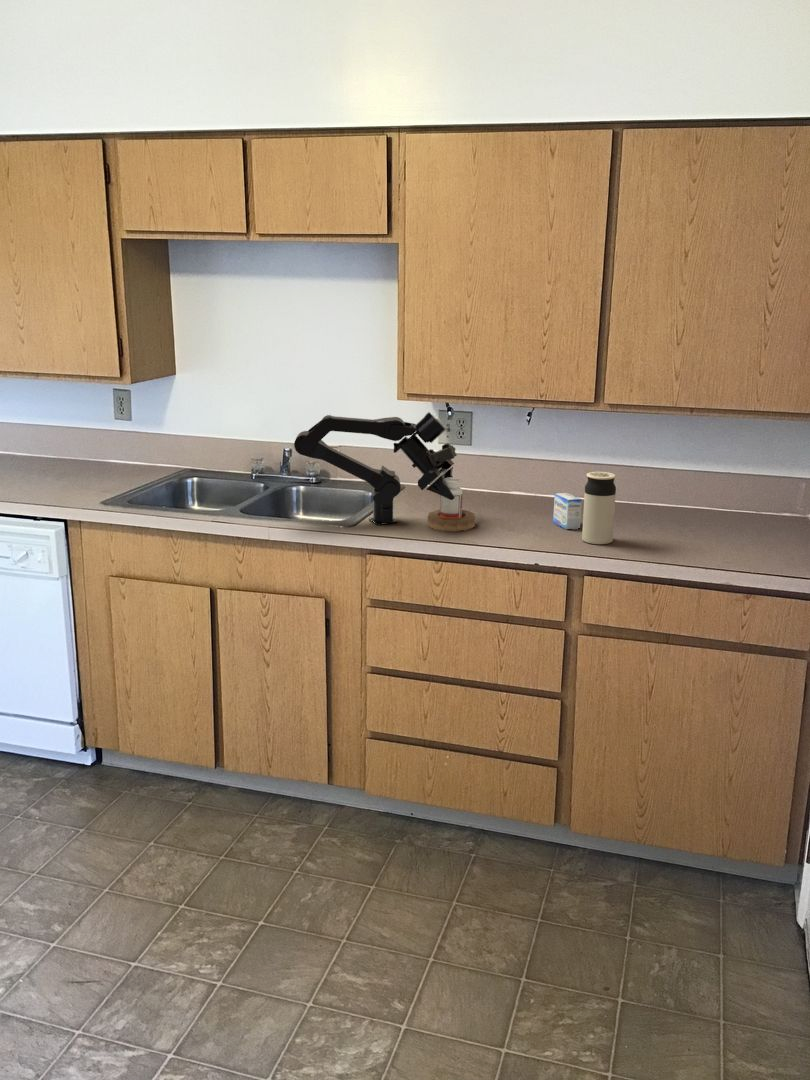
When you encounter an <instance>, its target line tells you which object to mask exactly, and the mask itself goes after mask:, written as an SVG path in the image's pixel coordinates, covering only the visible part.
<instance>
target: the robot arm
mask: <svg viewBox="0 0 810 1080" xmlns="http://www.w3.org/2000/svg"><path fill="white" fill-rule="evenodd" d="M446 430H447V428H446V427H445V426H444V425H443V424H442V423H441V422H440V420H439V419H438V418H436V417H435V416H434V415H433V414H432V413H431V412H430V411H429V412H427V413H426V414H425V415H424V416H423V418H421V419H420V420H419V422H417V423H413V422H408V421H404V420H403V419H402V418H400V417H399V416H398V417H397V416H389V417H381V418H375V419H368V418H357V417H345V416H344V417H343V416H334V415H331V414H327V415H324V416H323V417H322V419H321V420H320V421H318V422H316V423H315V424H314V425H312V427H310V428H309V429H308V430H304V431H301V432H299V433H298V434H297V436H296V437H295V440H294V444H293V447H294V449H295V452H296V453H297V454H299V455H301V456H304V457H308V458H310V459H315V460H321V461H324V462H326V463H328V464H330V465H332V466H334V467H335V468H336V467H337V468H338V469H340V470H342V471H344V472H347V473H348V474H350V475H352V476H353V477H354V476H355V477H357V478H358V479H361V480H362V481H365V482H366V483H368V484H369V485H370V486H371V487H372V488H374V489H373V490H372V515H373V516H372V517H368V520H369V519H370V518H371V519H370V520H372V521H374V522H375V523H377V524H381V525H383V524H382V523H390V524H394V523H393V522H399V520H397V519H396V518H395V517H394V498H395V497H397V496H398V495H399V494H400V492H401V490H402V489H401V479H400V477H399V476H398V475H397V474H396V471H395V470H391V469H389V468H387V467H386V466H384V465H381V468H380V469H377V468H373V467H371V466H369V465H367V464H365V463H363V462H361V461H359V460H357V459H355V458H353V457H350V456H349V455H347V454H345V453H342V452H341V451H340V450H337V449H335V448H333V447H331V446H329V445H328V444H327V443H326V442H324V440H323V438H325V437H326V436H327V435H328V434H329V433H330V432H338V433H339V432H340V433H351V434H361V435H362V434H364V435H372V436H373V435H374V436H376V437H378V438H379V437H380V438H382V439H385V440H389V441H394V443H393V453H395V454H396V453H398V452H399V451H400V450H401V452H403V454H404V455H405V456H406V457H407V458H408V459H409V461H410V462H411V463H412V465H411V466H412V467H413V469H414V468H417V470H418V471H420V473H421V474H422V476H421V477H420V478H419V479H417V486H418V488H419V489H420V490H421V491H424V490H425V489H426V491H430V492H431V493H434V494H437V495H439V496H440V495H441V496H443V497H446V498H448V499H450V500H453V499H454V498H455V497H454V496H453V494H452V492H451V491H450V489H449V488H448V486H447V485H446V484H445V482H444V478H454V477H453V470H454V467H453V465H454V464H455V463H454V462H453V459H455V458H456V457H457V456H458V455H457V453H456V447H454V445H453V444H452V445H451V444H450V443H449V442H447V443H444V444H443V445H441V449H438V451H434V449H431V448H430V449H429V448H428V447H427V446H426V445H425V444H427V443H430V444H432V443H433V442H434V441H435V440H436V439H438V438H439V437H440V436H441V435H442V434H443V433H444V432H445V431H446ZM417 435H418V437H417ZM409 436H410V437H409ZM408 437H409V438H408ZM420 439H421V440H422V441H423V442H422V441H421V440H420ZM398 441H399V442H398ZM397 442H398V443H397ZM424 443H425V444H424ZM370 520H369V521H370ZM372 521H371V522H372ZM375 523H374V524H375ZM377 524H376V525H377Z"/></svg>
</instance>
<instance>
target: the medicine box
mask: <svg viewBox="0 0 810 1080" xmlns="http://www.w3.org/2000/svg"><path fill="white" fill-rule="evenodd" d="M553 501H554V503H553V516H552V518H553V519H552V523H553V524H554V523H555V524H554V525H556V524H557V525H556V526H557V527H560V526H561V527H560V528H562V529H564V530H566V529H573V530H579V529H578V528H580V529H581V518H582V503H583V501H582V499H581V498H580V497H577V496H575V495H572V494H571V493H568V492H561V493H555V494H554V500H553Z"/></svg>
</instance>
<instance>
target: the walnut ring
mask: <svg viewBox="0 0 810 1080" xmlns="http://www.w3.org/2000/svg"><path fill="white" fill-rule="evenodd" d="M475 523H476V513H474V512H472V511H471V510H467V509H462V518H443V517H440V509H434V510H432V511H429V512H428V514H427V526H428V527H429V528H431V529H432V528H433V529H432V530H438V531H442V532H460V530H464V531H469V530H471V529H473V527H474V528H475V527H476V526H475V525H476V524H475ZM470 528H471V529H470ZM468 529H469V530H468Z"/></svg>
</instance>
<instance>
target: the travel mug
mask: <svg viewBox="0 0 810 1080" xmlns="http://www.w3.org/2000/svg"><path fill="white" fill-rule="evenodd" d="M586 477H587V482H586V483H585V485H584V499H583V500H584V501H583V512H582V513H583V516H582V533H581V534H582V535H581V536H582V537H581V540H582V541H584V542H585V543H587V544H590V545H608V544H610V543H613V540H614V538H613V537H614V526H615V524H614V523H615V506H616V496H617V495H616V494H617V493H616V491H617V487H616V485H615V478H616V477H617V476H616V474H614V473H613V472H608V471H592V472H591V471H590V472H587V473H586Z"/></svg>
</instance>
